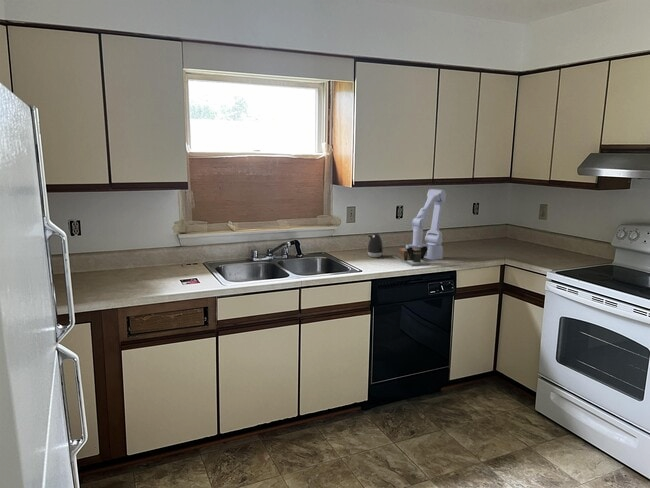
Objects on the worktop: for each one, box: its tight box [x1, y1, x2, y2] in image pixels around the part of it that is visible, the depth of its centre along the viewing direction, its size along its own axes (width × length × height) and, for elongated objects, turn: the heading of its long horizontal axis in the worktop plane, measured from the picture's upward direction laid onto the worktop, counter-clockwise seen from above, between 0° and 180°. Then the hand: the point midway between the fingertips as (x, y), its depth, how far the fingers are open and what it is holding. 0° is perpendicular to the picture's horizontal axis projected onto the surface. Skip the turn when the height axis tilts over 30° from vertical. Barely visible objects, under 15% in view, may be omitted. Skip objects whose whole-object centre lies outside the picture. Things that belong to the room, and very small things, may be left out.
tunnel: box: [397, 247, 421, 260], centre depth 309 cm, size 12×8×6 cm
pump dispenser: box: [366, 232, 384, 259], centre depth 316 cm, size 10×10×15 cm
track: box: [392, 254, 431, 267], centre depth 308 cm, size 12×25×1 cm, turn 19°
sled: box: [405, 253, 422, 262], centre depth 306 cm, size 7×15×5 cm, turn 19°
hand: (416, 259), depth 301 cm, fingers open, 7 cm apart
